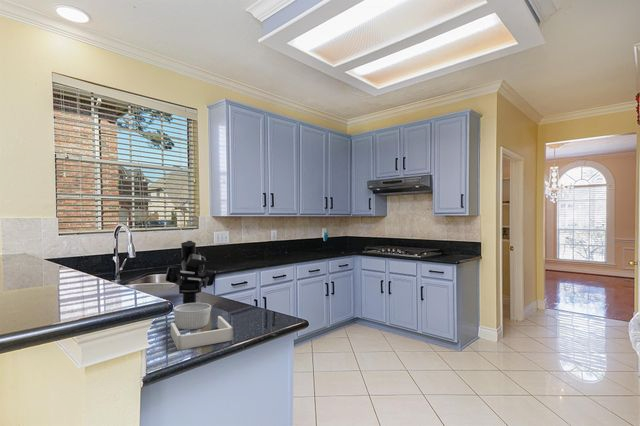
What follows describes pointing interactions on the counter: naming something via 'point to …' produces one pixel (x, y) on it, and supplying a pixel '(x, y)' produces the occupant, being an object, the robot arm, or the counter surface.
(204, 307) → the ramekin
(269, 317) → the counter surface
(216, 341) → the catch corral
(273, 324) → the counter surface
